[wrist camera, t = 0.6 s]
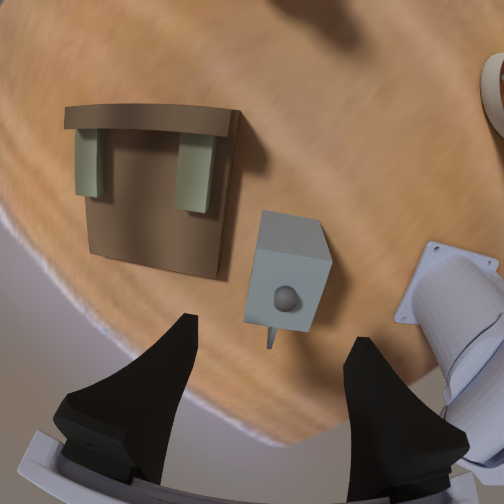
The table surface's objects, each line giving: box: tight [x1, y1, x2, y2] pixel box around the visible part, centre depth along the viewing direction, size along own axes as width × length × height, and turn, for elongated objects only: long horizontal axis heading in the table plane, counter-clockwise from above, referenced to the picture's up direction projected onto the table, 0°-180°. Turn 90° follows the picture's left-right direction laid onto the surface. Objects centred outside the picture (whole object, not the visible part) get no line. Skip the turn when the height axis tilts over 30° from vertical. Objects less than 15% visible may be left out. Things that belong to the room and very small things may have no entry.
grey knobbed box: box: [243, 210, 333, 349], centre depth 19 cm, size 4×7×7 cm, turn 171°
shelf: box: [64, 104, 240, 279], centre depth 18 cm, size 11×12×4 cm
